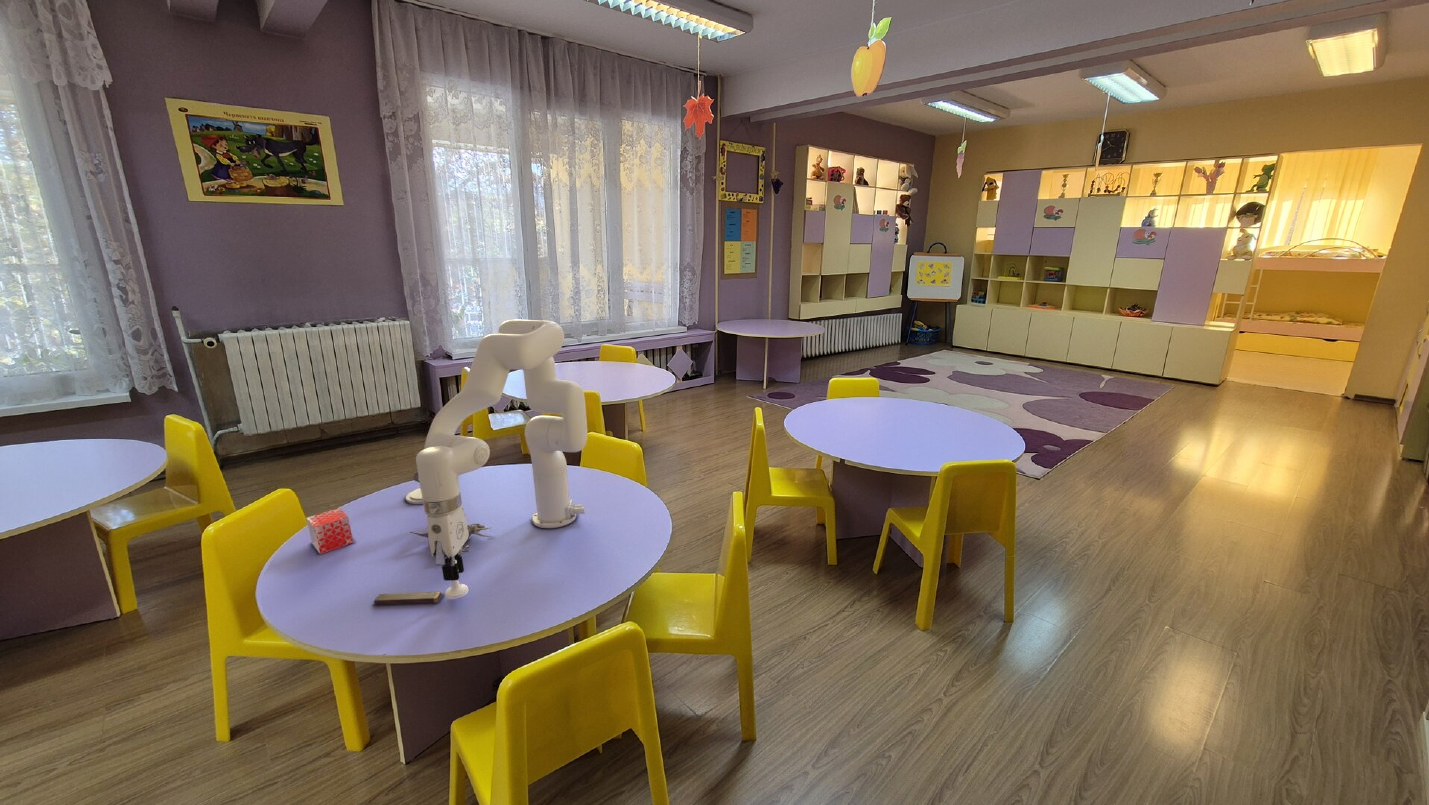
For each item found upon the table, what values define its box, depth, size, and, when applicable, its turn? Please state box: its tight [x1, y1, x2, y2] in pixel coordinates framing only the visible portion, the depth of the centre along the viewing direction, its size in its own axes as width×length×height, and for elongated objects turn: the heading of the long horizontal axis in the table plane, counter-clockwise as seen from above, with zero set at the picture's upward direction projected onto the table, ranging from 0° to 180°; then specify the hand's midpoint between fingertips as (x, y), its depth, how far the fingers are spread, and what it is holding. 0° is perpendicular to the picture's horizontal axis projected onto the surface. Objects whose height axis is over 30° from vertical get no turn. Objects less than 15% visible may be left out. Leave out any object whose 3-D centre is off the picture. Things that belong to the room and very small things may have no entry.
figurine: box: [409, 523, 492, 553], centre depth 153 cm, size 20×6×17 cm
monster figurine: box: [405, 471, 423, 505], centre depth 183 cm, size 12×12×10 cm
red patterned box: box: [306, 507, 355, 555], centre depth 155 cm, size 8×8×8 cm
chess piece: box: [444, 557, 469, 600], centre depth 129 cm, size 5×5×10 cm
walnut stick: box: [373, 590, 443, 606], centre depth 130 cm, size 14×3×1 cm, turn 93°
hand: (454, 575), depth 129 cm, fingers closed on chess piece
